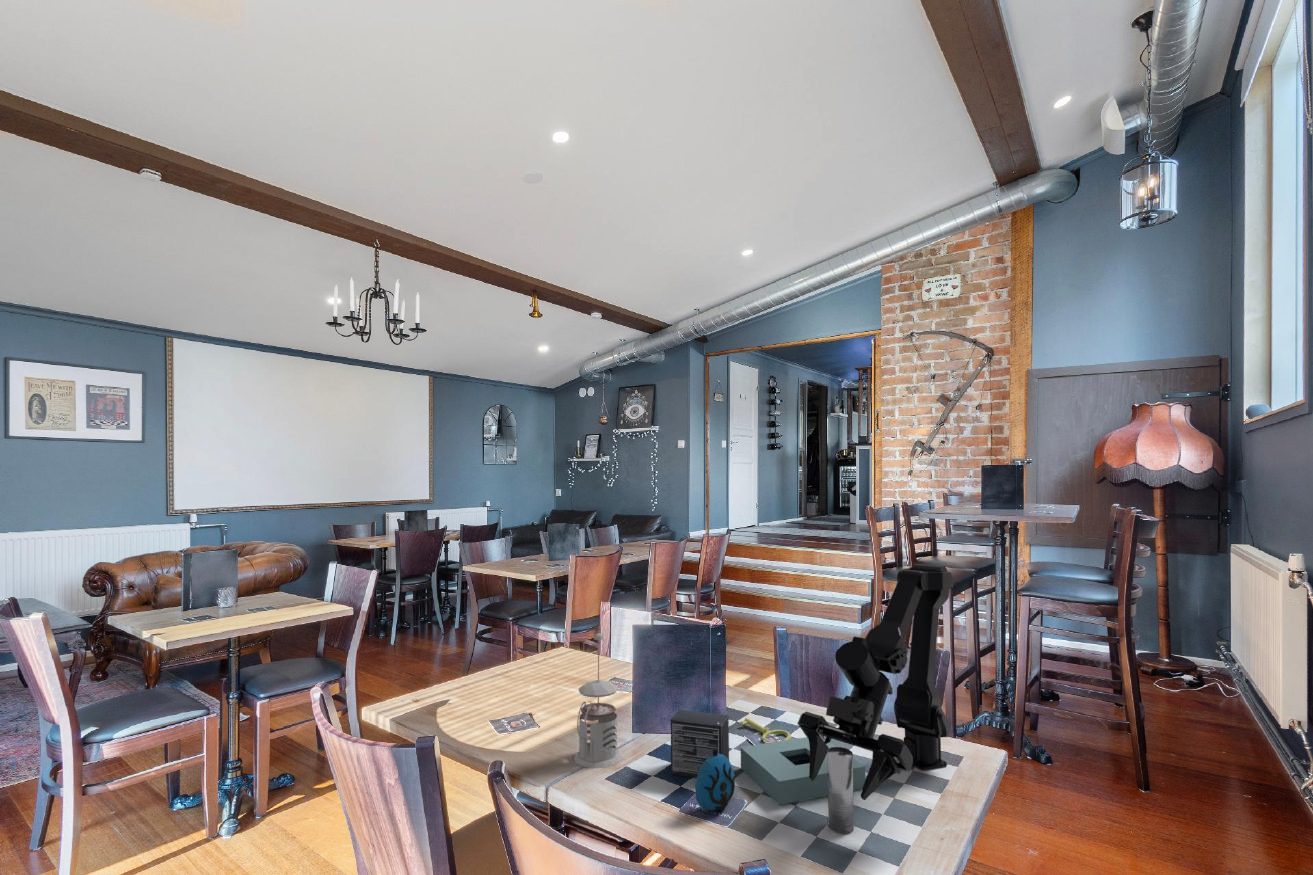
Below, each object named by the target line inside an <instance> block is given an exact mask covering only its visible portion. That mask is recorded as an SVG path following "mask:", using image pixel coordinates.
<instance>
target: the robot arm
mask: <svg viewBox="0 0 1313 875" xmlns="http://www.w3.org/2000/svg"><path fill="white" fill-rule="evenodd" d="M953 582H954V581H953V574H952V572H950V571H948V569H947V567H946V566H945V565H934V564H924V563H922V564H921V563H914V564H912V566H911V567H907V568H905V567H904V568H902V569H900V570H899V571H898V572H897V577H896V584H895V587H894V589H893V591H892V594H891V595H890V596H891V597H890V599H889V601H888V604H887V606H886V608H885V611H884V613H883V615H882V616H883V617H882V619H881V620H880V623H879V624H878V625H876V626H874V627H873V628H871V629H869V631H868V632H867V634H866V636H865V637H860V636H856V635H854V636H853V637H852V640H851V641H847V642H845V643H843V644H842V645H841V646H839V648H837V649H836V651H835V656H834V658H835V662H836V664H837V665H838V667H839V669H840V671H841V672H842V674H843V675H844V677H845V678H846V680H847V681H848V682H849V685H851V686H853V687H852V689H851V693H850V695H845V696H844V697H843V698H839V697H836V696H833V695H829V696H828V700H827V706H826V707H827V708H826V713H825V716H827V717H833V720H832V721H833V722H834V724H835V725H837V726H838V727H836V726H832V725H830V724H829V723H828V721H827V719H825V717H824V716H822V715H820V714H816V713H814V712H813V713H812V712H810V711H804V712H802V713H801V714H800V717H799V719H798V721H797V725H798V727H799V728H800V729H801V730H802V732H803V734H804V735H805V736H806V737H807V738H808V739H809V746H810V759H809V763H810V769H809V778H810V779H811V780H812V781H814V779H815V778H816V776H817V774H818V772H819V770H820V768H821V766H822V764H823V761H824V759H825V757H826V755H827V750H828V749H829V748H828V746H827V745H826V744H827V743H829V742H830V743H831V741H832V740H834V741H837V742H841V743H844V744H847V745H851V746H855V747H858V748H861V749H864V750H866V751H869V752H872V758H871V763H870V767H869V770H868V772H867V775H866V776H865V779H866V780H865V782H864V785H863V788H862V789H861V792H860V793H861V794H860V798H861V799H862V800H864V801H866V800H867V799H868V798H869V797H870V796H871V795H872V794H873V793H874V792H875V791H876V790H877V789H878V788H879V787H880V786H881V785H882V784H883V783H885V782H886V781H888V780H889V779H890V778H891V777H892V776H894V775H895V774H897V775H901V774H902V771H904V772H906V773H909V772H911V770H912V767H913V766H914V767H916V768H918V769H919V770H922V771H923V770H930V769H935V768H940V767H945V766H948V762H947V761H945V760H944V759H942V749H941V748H942V745H941V742H942V741H941V739H942V738H948V735H949V734H948V733H949V729H950V726H949V722H950V721H949V718H947V716H946V714H945V712H944V710H943V709H942V706H941V705H942V704H941V699H942V698H941V696H940V694H939V692H938V689H937V687H936V686H935V683H934V675H935V666H936V664H935V663H936V652H937V642H938V639H937V638H938V628H939V612H940V609H941V608H942V607H943V606H944V605H945V603H946V602H947V601H948V600H949V597H950V590H951V589H952V587H953ZM911 622H912V630H911V639H910V650H908V647H907V643H906V641H905V640H906V636H907V633H908V630H909V629H910V626H911ZM908 652H910V653H909V662H908ZM907 663H908V673H907V677H906V679H905V680H904V681H903V682H902V683H900V684H898V685H897V687H896V696H895V697H896V698H895V700H894V703H893V710H894V711H893V712H894V715H895V716H894V717H895V720H896V726H897V728H900V729H904V737H903V739H901V738H899V737H895V736H891V735H888V734H885V733H881V734H880V735H879V736H878V738H877V739H875V738H874V736H875V734H876V731H877V728H878V725H880V726H881V725H882V724H883V721H884V718H883V717H882V713H883V710H884V707H885V704H886V700H887V698H888V695H890V696H892V695H893V687H892V684H891V682H890V678H888V677H887V676H886V675H885V673H886V674H887V673H888V674H893V675H897V674H900V673H902V672H903V670H904V669H905V668H906V667H907V666H906V665H907ZM883 672H884V673H883Z"/></svg>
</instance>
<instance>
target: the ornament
mask: <svg viewBox="0 0 1313 875" xmlns="http://www.w3.org/2000/svg"><path fill="white" fill-rule="evenodd" d="M731 763H732V762H731V761H730V759H729V760H728V759H727V758H726V757H725V756H724V755H722V754H718V752H717V750H716V749H714V750H713V755H711V756H710V757H708V758H707V759H706V760H705V762H704V763H703V765H702V766H701V768H700V770H699V773H698V776H697V778H696V780H695V789H694V793H695V799H696V802H697V803H698V805H699V807H700V808H702V809H704V810H705V811H716V810H717V809H718V811H720V810H723V809H725V808H726V807H727V806H728V804H729V802H731V801H730V800H732V798H733V795H734V794H735V787H736V775H735V772H734V769H733V766H732V764H731Z"/></svg>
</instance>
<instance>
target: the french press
mask: <svg viewBox="0 0 1313 875" xmlns="http://www.w3.org/2000/svg"><path fill="white" fill-rule="evenodd" d="M593 639H594V641H595V640H596V641H597V642H598V643H597V679H594V680H590V681H587V682H585V683H583V685H581V686H580V687H579V688H578V692H579V694H580V695H582V696H583V697H588V698H597V702H590V703H588V704H587V703H586V701H583V702H582V703H581V705H580V707H579V711H578V716H577V720H576V721H577V722H576V724H577V726H576V728H577V734H578V737H579V738H578V739H579V740H578V744H579V746H578V752H577V753H576V754H575V755H574V757H573V758H574V759H573V760H574V761H573V762H575V763H576V764H577V765H579V766H581V767H585V768H591V769H602V768H603V769H604V768H607V767H611V766H615V765H616V764H617V763H619V762H620V761H621V760H622V759H623V756H622V753H621V752H620V751H619V750H618V747H617V746H618V740H617V739H618V735H617V733H618V729H617V727H618V714H617V713H616V712H615V711H616V706H614V705H613V704H611V703H606V702H600V700H599V699H600V698H604V697H608V696H612V695H614V694H615V693H616V692H617V691H618V690H619V687H618V686H617V685H616V684H615V683H613V682H611V681H608V680H604V679H600V641H601V640H603V639H604V635H603V634H602V633H599V632H598V633H595V634H594V636H593ZM588 721H589V722H596V721H597V722H596V723H588ZM588 728H589V729H588ZM589 735H590V736H589ZM588 741H589V742H588Z"/></svg>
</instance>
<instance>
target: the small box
mask: <svg viewBox="0 0 1313 875" xmlns="http://www.w3.org/2000/svg"><path fill="white" fill-rule="evenodd" d="M729 717H730V716H729V714H719V713H713V712H703V711H702V712H701V711H697V710H696V711H694V710H686V709H678V711H677V712H676V713H675V714H673V716H672V717H671V718H670V720H669V721H670V775H675V776H680V777H682V776H683V777H689V778H695V779H697V776H698V773H699V770H700V768H701V766H702V765H703V763H704V762H705V760H706V759H707V758H708V757H710V756H711V755H713V750H714V749H716V750H717V752H718V754H722V755H724V756H725V757H726V758H727V759H728V760H729V761H730V739H729V738H730V736H729V735H730V732H729V731H730V730H729V729H730V727H729V726H730V725H729V722H730V721H729V719H730V718H729Z"/></svg>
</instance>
